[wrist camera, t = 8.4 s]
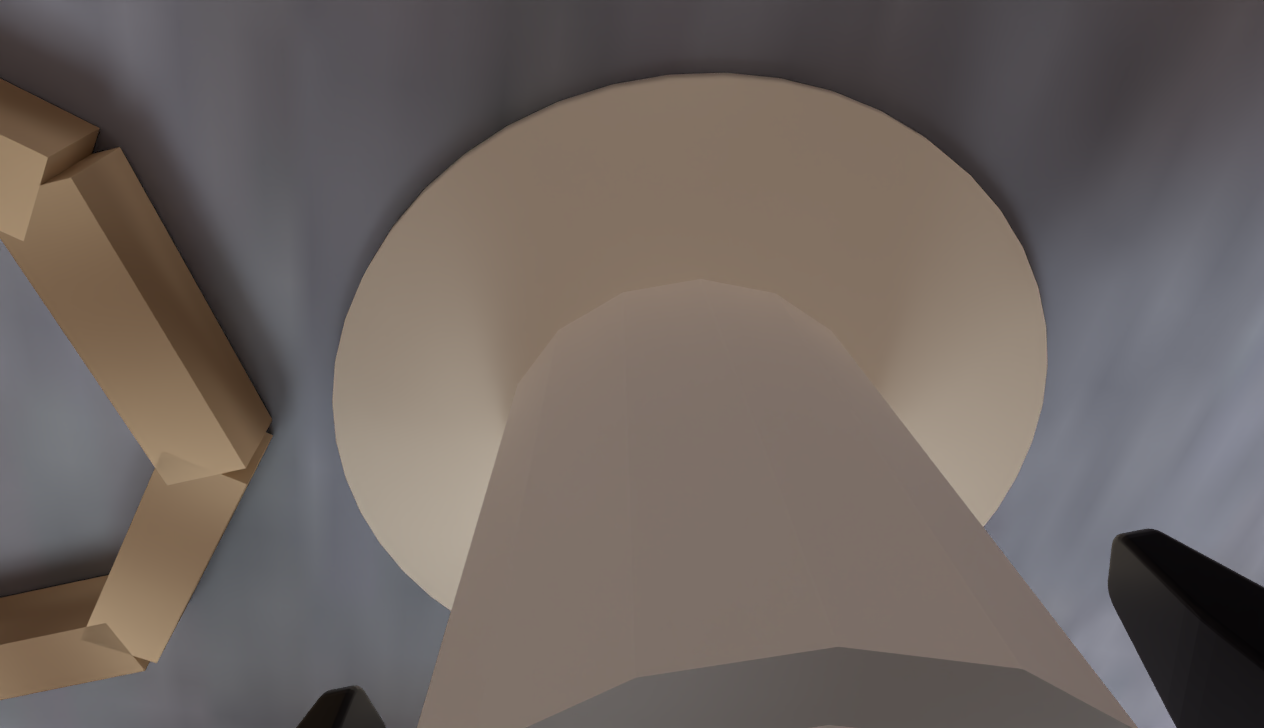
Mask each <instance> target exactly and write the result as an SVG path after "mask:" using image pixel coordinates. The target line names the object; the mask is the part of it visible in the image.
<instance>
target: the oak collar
mask: <svg viewBox="0 0 1264 728" xmlns="http://www.w3.org/2000/svg"><path fill="white" fill-rule="evenodd" d="M99 129H100V128H98V127H96V126H94V125H92V124H90V123H88V122H86V121H84V120H82V119H80V118H78V117H76V116H74V115H72V114H70V113H68V112H66V111H64V110H62V109H60V108H58V107H56V106H54V105H52V104H50V103H48V102H46V101H44V100H42V99H40V98H38V97H36V96H34V95H32V94H30V93H28V92H26V91H24V90H22V89H20V88H18V87H16V86H14V85H12V84H10V83H8V82H6V81H4V80H2V79H0V239H1V240H2V242H3V243H4V245H5V246H6V248H7V249H8V250H9V252H10V253H11V255H12V256H13V258H14V259H15V261H16V262H17V264H18V265H19V267H20V268H21V270H22V271H23V273H24V274H25V276H26V277H27V279H28V280H29V282H30V283H31V285H32V286H33V288H34V289H35V290H36V292H37V293H38V295H39V296H40V298H41V299H42V301H43V302H44V304H45V305H46V307H47V308H48V310H49V311H50V313H51V314H52V316H53V317H54V319H55V320H56V322H57V323H58V325H59V326H60V327H61V329H62V330H63V332H64V333H65V335H66V336H67V338H68V339H69V341H70V342H71V344H72V345H73V347H74V348H75V350H76V351H77V353H78V354H79V356H80V357H81V359H82V360H83V362H84V363H85V364H86V366H87V367H88V369H89V370H90V372H91V373H92V375H93V376H94V378H95V379H96V381H97V382H98V384H99V385H100V387H101V388H102V390H103V391H104V393H105V394H106V396H107V397H108V399H109V400H110V401H111V403H112V404H113V406H114V407H115V409H116V410H117V412H118V413H119V415H120V416H121V418H122V419H123V421H124V422H125V424H126V425H127V427H128V428H129V430H130V431H131V433H132V434H133V436H134V437H135V438H136V440H137V441H138V443H139V444H140V446H141V447H142V449H143V450H144V452H145V453H146V455H147V456H148V458H149V459H150V461H151V462H152V464H153V465H154V467H155V469H154V472H153V474H152V476H151V478H150V481H149V483H148V485H147V488H146V490H145V492H144V495H143V497H142V499H141V502H140V504H139V506H138V509H137V511H136V513H135V516H134V518H133V520H132V522H131V525H130V527H129V529H128V532H127V534H126V536H125V539H124V541H123V543H122V546H121V548H120V550H119V553H118V555H117V557H116V559H115V562H114V564H113V566H112V569H111V571H110V573H109V575H106V576H101V577H97V578H92V579H87V580H82V581H78V582H73V583H68V584H64V585H59V586H54V587H49V588H45V589H40V590H35V591H31V592H26V593H21V594H16V595H12V596H7V597H2V598H0V700H3V699H8V698H13V697H18V696H23V695H28V694H33V693H38V692H42V691H47V690H52V689H57V688H62V687H67V686H72V685H77V684H82V683H87V682H92V681H97V680H102V679H107V678H112V677H116V676H121V675H126V674H131V673H136V672H141V671H145V670H146V668H147V666H148V664H149V662H150V661H151V662H154V663H157V662H158V660H159V658H160V656H161V654H162V652H163V650H164V649H165V647H166V645H167V643H168V641H169V639H170V637H171V635H172V633H173V631H174V630H175V628H176V626H177V624H178V622H179V620H180V618H181V616H182V614H183V612H184V611H185V609H186V607H187V605H188V603H189V601H190V599H191V597H192V595H193V593H194V591H195V589H196V587H197V585H198V583H199V581H200V579H201V577H202V575H203V573H204V571H205V569H206V567H207V565H208V563H209V561H210V559H211V557H212V555H213V553H214V551H215V549H216V547H217V545H218V543H219V541H220V539H221V537H222V536H223V534H224V532H225V530H226V528H227V526H228V524H229V522H230V520H231V518H232V516H233V514H234V512H235V510H236V508H237V506H238V504H239V502H240V500H241V498H242V496H243V494H244V492H245V490H246V488H247V486H248V484H249V482H250V480H251V478H252V476H253V474H254V472H255V470H256V468H257V466H258V464H259V462H260V460H261V458H262V456H263V454H264V452H265V451H266V449H267V447H268V445H269V443H270V441H271V439H272V437H273V435H271V434H269V433H266V431H267V429H268V427H269V425H270V423H271V421H272V418H271V417H270V415H269V413H268V411H267V409H266V408H265V406H264V404H263V402H262V401H261V399H260V397H259V395H258V393H257V392H256V390H255V388H254V386H253V384H252V383H251V381H250V379H249V377H248V375H247V374H246V372H245V370H244V368H243V367H242V365H241V363H240V361H239V359H238V358H237V356H236V354H235V352H234V350H233V349H232V347H231V345H230V343H229V341H228V340H227V338H226V336H225V334H224V333H223V331H222V329H221V327H220V325H219V324H218V322H217V320H216V318H215V316H214V315H213V313H212V311H211V309H210V307H209V306H208V304H207V302H206V300H205V298H204V297H203V295H202V293H201V291H200V290H199V288H198V286H197V284H196V282H195V281H194V279H193V277H192V275H191V273H190V272H189V270H188V268H187V266H186V264H185V263H184V261H183V259H182V257H181V256H180V254H179V252H178V250H177V248H176V247H175V245H174V243H173V241H172V239H171V238H170V236H169V234H168V232H167V230H166V229H165V227H164V225H163V223H162V221H161V220H160V218H159V216H158V214H157V213H156V211H155V209H154V207H153V205H152V204H151V202H150V200H149V198H148V196H147V195H146V193H145V191H144V189H143V187H142V186H141V184H140V182H139V180H138V179H137V177H136V175H135V173H134V171H133V170H132V168H131V166H130V164H129V162H128V161H127V159H126V157H125V155H124V153H123V152H122V150H121V148H120V147H118V148H114V149H110V150H106V151H102V152H98V153H94V154H92V151H93V148H94V145H95V142H96V139H97V135H98V132H99Z"/></svg>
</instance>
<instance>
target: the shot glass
mask: <svg viewBox="0 0 1264 728" xmlns="http://www.w3.org/2000/svg"><path fill="white" fill-rule="evenodd" d="M417 728H1138V727H1137V726H1136V725H1135V723H1134V722H1133V721H1132V719H1131V718H1130V717H1129V716H1128V714H1127V713H1126V712H1125V710H1124V709H1123V708H1122V707H1121V705H1120V704H1119V703H1118V701H1117V700H1116V699H1115V697H1114V696H1113V695H1112V694H1111V692H1110V691H1109V690H1108V688H1107V687H1106V686H1105V684H1104V683H1103V682H1102V681H1101V679H1100V678H1099V677H1098V675H1097V674H1096V673H1095V672H1094V670H1093V669H1092V668H1091V666H1090V665H1089V664H1088V662H1087V661H1086V660H1085V659H1084V657H1083V656H1082V655H1081V653H1080V652H1079V651H1078V650H1077V648H1076V647H1075V646H1074V644H1073V643H1072V642H1071V640H1070V639H1069V638H1068V637H1067V635H1066V634H1065V633H1064V631H1063V630H1062V629H1061V627H1060V626H1059V625H1058V624H1057V622H1056V621H1055V620H1054V618H1053V617H1052V616H1051V615H1050V613H1049V612H1048V611H1047V609H1046V608H1045V607H1044V605H1043V604H1042V603H1041V602H1040V600H1039V599H1038V598H1037V596H1036V595H1035V594H1034V592H1033V591H1032V590H1031V589H1030V587H1029V586H1028V585H1027V583H1026V582H1025V581H1024V580H1023V578H1022V577H1021V576H1020V574H1019V573H1018V572H1017V570H1016V569H1015V568H1014V567H1013V565H1012V564H1011V563H1010V561H1009V560H1008V559H1007V557H1006V556H1005V555H1004V554H1003V552H1002V551H1001V550H1000V548H999V547H998V546H997V545H996V543H995V542H994V541H993V539H992V538H991V537H990V535H989V534H988V533H987V532H986V530H985V529H984V528H983V526H982V525H981V524H980V522H979V521H978V520H977V519H976V517H975V516H974V515H973V513H972V512H971V511H970V510H969V508H968V507H967V506H966V504H965V503H964V502H963V500H962V499H961V498H960V497H959V495H958V494H957V493H956V491H955V490H954V489H953V487H952V486H951V485H950V484H949V482H948V481H947V480H946V478H945V477H944V476H943V475H942V473H941V472H940V471H939V469H938V468H937V467H936V465H935V464H934V463H933V462H932V460H931V459H930V458H929V456H928V455H927V454H926V452H925V451H924V450H923V449H922V447H921V446H920V445H919V443H918V442H917V441H916V440H915V438H914V437H913V436H912V434H911V433H910V432H909V430H908V429H907V428H906V427H905V425H904V424H903V423H902V421H901V420H900V419H899V417H898V416H897V415H896V414H895V412H894V411H893V410H892V408H891V407H890V406H889V405H888V403H887V402H886V401H885V399H884V398H883V397H882V395H881V394H880V393H879V392H878V390H877V389H876V388H875V386H874V385H873V384H872V382H871V381H870V380H869V379H868V377H867V376H866V375H865V373H864V372H863V371H862V370H861V368H860V367H859V366H858V364H857V363H856V362H855V360H854V359H853V358H852V357H851V355H850V354H849V353H848V351H847V350H846V349H845V347H844V346H843V345H842V344H841V342H840V341H839V340H838V338H837V337H836V336H835V335H834V333H833V332H832V331H831V330H829V329H828V328H826V327H825V326H823V325H822V324H820V323H819V322H818V321H816V320H815V319H813V318H812V317H810V316H809V315H807V314H806V313H804V312H803V311H801V310H800V309H798V308H797V307H795V306H794V305H792V304H791V303H789V302H788V301H786V300H785V299H783V298H782V297H780V296H779V295H777V294H776V293H772V292H767V291H761V290H756V289H751V288H746V287H741V286H735V285H730V284H725V283H720V282H715V281H709V280H704V279H697V280H691V281H685V282H680V283H674V284H668V285H662V286H656V287H651V288H645V289H639V290H633V291H627V292H623V293H621V294H619V295H618V296H616V297H614V298H612V299H611V300H609V301H607V302H606V303H604V304H602V305H600V306H599V307H597V308H595V309H594V310H592V311H590V312H589V313H587V314H585V315H583V316H582V317H580V318H578V319H577V320H575V321H573V322H571V323H570V324H568V325H566V326H565V327H563V328H561V329H559V330H558V331H557V333H556V334H555V335H554V337H553V338H552V339H551V341H550V342H549V343H548V344H547V346H546V347H545V348H544V350H543V351H542V352H541V354H540V355H539V356H538V358H537V359H536V360H535V362H534V363H533V364H532V366H531V367H530V368H529V370H528V371H527V372H526V374H525V375H524V376H523V378H522V379H521V380H520V382H519V383H518V385H517V388H516V392H515V395H514V398H513V402H512V405H511V409H510V412H509V416H508V419H507V422H506V426H505V429H504V433H503V436H502V439H501V443H500V446H499V450H498V453H497V456H496V460H495V463H494V467H493V470H492V474H491V477H490V480H489V484H488V487H487V491H486V494H485V497H484V501H483V504H482V508H481V511H480V514H479V518H478V521H477V525H476V528H475V532H474V535H473V538H472V542H471V545H470V549H469V552H468V555H467V559H466V562H465V566H464V569H463V572H462V576H461V579H460V583H459V586H458V590H457V593H456V596H455V600H454V603H453V607H452V610H451V613H450V617H449V620H448V624H447V627H446V630H445V634H444V637H443V641H442V644H441V648H440V651H439V654H438V658H437V661H436V665H435V668H434V671H433V675H432V678H431V682H430V685H429V688H428V692H427V695H426V699H425V702H424V706H423V709H422V712H421V716H420V719H419V723H418V726H417Z"/></svg>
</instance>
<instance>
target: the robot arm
mask: <svg viewBox="0 0 1264 728" xmlns="http://www.w3.org/2000/svg"><path fill="white" fill-rule="evenodd" d="M1108 591H1109V595H1110V598H1111V601H1112V604H1113V606H1114V608H1115V610H1116V612H1117V614H1118V616H1119V618H1120V620H1121V621H1122V623H1123V625H1124V627H1125V629H1126V631H1127V633H1128V635H1129V637H1130V639H1131V641H1132V643H1133V645H1134V647H1135V649H1136V651H1137V653H1138V655H1139V657H1140V658H1141V660H1142V662H1143V664H1144V666H1145V668H1146V670H1147V672H1148V674H1149V676H1150V678H1151V680H1152V682H1153V684H1154V686H1155V688H1156V690H1157V692H1158V693H1159V695H1160V697H1161V699H1162V701H1163V703H1164V705H1165V707H1166V709H1167V711H1168V713H1169V715H1170V716H1171V718H1172V720H1173V722H1174V724H1175V726H1176V727H1177V728H1264V587H1262V586H1261V585H1259V584H1257V583H1255V582H1253V581H1251V580H1249V579H1248V578H1246V577H1244V576H1242V575H1240V574H1238V573H1236V572H1235V571H1233V570H1231V569H1229V568H1227V567H1225V566H1223V565H1222V564H1220V563H1218V562H1216V561H1214V560H1212V559H1211V558H1209V557H1207V556H1205V555H1203V554H1201V553H1199V552H1198V551H1196V550H1194V549H1192V548H1190V547H1188V546H1186V545H1185V544H1183V543H1181V542H1179V541H1177V540H1175V539H1173V538H1172V537H1170V536H1168V535H1166V534H1164V533H1162V532H1160V531H1158V530H1154V529H1142V530H1137V531H1132V532H1127V533H1122V534H1119V535H1117V536H1116V537H1115V538H1114V540H1113V543H1112V549H1111V558H1110V567H1109V576H1108ZM296 728H386V727H385V724H384V722H383V721H382V719H381V717H380V716H379V714H378V713H377V711H376V709H375V708H374V706H373V704H372V703H371V701H370V699H369V698H368V696H367V695H366V693H365V692H364V690H363V689H362V688H360V687H359V686H348V687H343V688H338V689H333V690H329V691H327V692H325V693H324V694H323V695H322V696H321V697H320V698H319V699H318V700H317V702H316V703H315V704H314V705H313V707H312V708H311V709H310V711H309V712H308V713H307V714H306V716H305V717H304V718H303V720H302V721H301V722H300V723H299V725H298V726H297V727H296Z"/></svg>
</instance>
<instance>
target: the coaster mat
mask: <svg viewBox="0 0 1264 728" xmlns="http://www.w3.org/2000/svg"><path fill="white" fill-rule="evenodd" d="M697 279H704V280H709V281H715V282H720V283H725V284H730V285H735V286H741V287H746V288H751V289H756V290H761V291H767V292H772V293H776V294H777V295H779V296H780V297H782V298H783V299H785V300H786V301H788V302H789V303H791V304H792V305H794V306H795V307H797V308H798V309H800V310H801V311H803V312H804V313H806V314H807V315H809V316H810V317H812V318H813V319H815V320H816V321H818V322H819V323H820V324H822V325H823V326H825V327H826V328H828V329H829V330H831V331H832V332H833V333H834V335H835V336H836V337H837V338H838V340H839V341H840V342H841V344H842V345H843V346H844V347H845V349H846V350H847V351H848V353H849V354H850V355H851V357H852V358H853V359H854V360H855V362H856V363H857V364H858V366H859V367H860V368H861V370H862V371H863V372H864V373H865V375H866V376H867V377H868V379H869V380H870V381H871V382H872V384H873V385H874V386H875V388H876V389H877V390H878V392H879V393H880V394H881V395H882V397H883V398H884V399H885V401H886V402H887V403H888V405H889V406H890V407H891V408H892V410H893V411H894V412H895V414H896V415H897V416H898V417H899V419H900V420H901V421H902V423H903V424H904V425H905V427H906V428H907V429H908V430H909V432H910V433H911V434H912V436H913V437H914V438H915V440H916V441H917V442H918V443H919V445H920V446H921V447H922V449H923V450H924V451H925V452H926V454H927V455H928V456H929V458H930V459H931V460H932V462H933V463H934V464H935V465H936V467H937V468H938V469H939V471H940V472H941V473H942V475H943V476H944V477H945V478H946V480H947V481H948V482H949V484H950V485H951V486H952V487H953V489H954V490H955V491H956V493H957V494H958V495H959V497H960V498H961V499H962V500H963V502H964V503H965V504H966V506H967V507H968V508H969V510H970V511H971V512H972V513H973V515H974V516H975V517H976V519H977V520H978V521H979V522H980V524H981V525H982V526H983V527H984V526H985V524H986V523H987V522H988V520H989V519H990V518H991V517H992V515H993V514H994V513H995V511H996V510H997V509H998V507H999V506H1000V504H1001V502H1002V501H1003V499H1004V497H1005V496H1006V494H1007V492H1008V491H1009V489H1010V487H1011V486H1012V484H1013V482H1014V481H1015V479H1016V477H1017V475H1018V473H1019V471H1020V468H1021V466H1022V464H1023V462H1024V459H1025V457H1026V455H1027V452H1028V450H1029V448H1030V446H1031V443H1032V441H1033V437H1034V434H1035V430H1036V427H1037V423H1038V419H1039V416H1040V412H1041V409H1042V405H1043V398H1044V390H1045V382H1046V374H1047V337H1046V323H1045V318H1044V313H1043V308H1042V303H1041V298H1040V293H1039V289H1038V285H1037V283H1036V280H1035V277H1034V275H1033V272H1032V270H1031V267H1030V264H1029V262H1028V259H1027V257H1026V254H1025V252H1024V249H1023V247H1022V245H1021V244H1020V242H1019V240H1018V239H1017V237H1016V235H1015V234H1014V232H1013V230H1012V229H1011V227H1010V225H1009V224H1008V222H1007V220H1006V219H1005V217H1004V215H1003V214H1002V212H1001V210H1000V209H999V208H998V207H997V206H996V204H995V203H994V202H993V201H992V200H991V199H990V197H989V196H988V195H987V194H986V193H985V192H984V190H983V189H982V188H981V187H980V186H979V185H978V183H977V182H976V181H975V180H974V179H973V178H972V176H971V175H969V174H968V173H967V172H966V171H965V170H963V169H962V168H961V167H960V166H959V165H957V164H956V163H955V162H954V161H953V160H952V159H950V158H949V157H948V156H947V155H946V154H944V153H943V152H942V151H941V150H940V149H938V148H937V147H936V146H935V145H934V144H932V143H931V142H930V141H929V140H927V139H926V138H925V137H924V136H922V135H921V134H919V133H917V132H916V131H914V130H912V129H911V128H909V127H907V126H906V125H904V124H902V123H901V122H899V121H897V120H896V119H894V118H892V117H890V116H889V115H887V114H885V113H884V112H882V111H880V110H878V109H876V108H873V107H871V106H868V105H866V104H863V103H861V102H858V101H856V100H853V99H851V98H849V97H846V96H844V95H841V94H839V93H836V92H834V91H831V90H827V89H823V88H819V87H814V86H810V85H806V84H802V83H798V82H794V81H790V80H786V79H782V78H775V77H765V76H755V75H745V74H735V73H698V74H672V75H663V76H657V77H652V78H646V79H640V80H634V81H629V82H623V83H617V84H612V85H609V86H605V87H602V88H599V89H596V90H593V91H590V92H586V93H583V94H580V95H577V96H574V97H571V98H568V99H564V100H561V101H558V102H556V103H554V104H552V105H550V106H548V107H545V108H543V109H541V110H539V111H537V112H535V113H533V114H531V115H529V116H526V117H524V118H522V119H520V120H518V121H516V122H514V123H512V124H510V125H508V126H506V127H505V128H503V129H502V130H500V131H499V132H497V133H495V134H494V135H492V136H491V137H489V138H488V139H486V140H485V141H483V142H482V143H480V144H479V145H477V146H476V147H474V148H473V149H471V150H470V151H468V152H466V153H465V154H463V155H462V156H461V157H460V158H459V159H458V160H457V161H455V162H454V163H453V164H452V165H451V166H450V167H449V168H448V169H446V170H445V171H444V172H443V173H442V174H441V175H440V176H438V177H437V178H436V179H435V180H434V181H433V182H432V183H430V184H429V185H428V186H427V187H426V188H425V189H424V190H423V191H422V192H421V194H420V195H419V196H418V197H417V198H416V199H415V201H414V202H413V203H412V204H411V205H410V207H409V208H408V209H407V210H406V211H405V212H404V214H403V215H402V216H401V217H400V218H399V220H398V221H397V222H396V223H395V224H394V225H393V227H392V229H391V230H390V232H389V233H388V235H387V237H386V238H385V240H384V242H383V243H382V245H381V246H380V248H379V250H378V251H377V253H376V255H375V256H374V258H373V259H372V261H371V263H370V264H369V266H368V268H367V270H366V272H365V274H364V276H363V278H362V280H361V282H360V285H359V287H358V290H357V292H356V294H355V297H354V299H353V302H352V304H351V306H350V309H349V311H348V314H347V316H346V318H345V322H344V326H343V330H342V334H341V339H340V343H339V347H338V351H337V355H336V360H335V371H334V385H333V400H332V403H333V414H334V424H335V435H336V443H337V446H338V450H339V454H340V458H341V462H342V466H343V469H344V473H345V477H346V480H347V482H348V484H349V487H350V489H351V491H352V493H353V496H354V498H355V500H356V503H357V505H358V507H359V510H360V512H361V514H362V515H363V517H364V518H365V520H366V522H367V523H368V525H369V526H370V528H371V530H372V531H373V533H374V534H375V536H376V538H377V539H378V541H379V542H380V544H381V545H382V546H383V547H384V549H385V550H386V551H387V552H388V553H389V555H390V556H391V557H392V558H393V559H394V561H395V562H396V563H397V564H398V565H399V567H400V568H401V569H402V570H403V571H404V572H405V573H406V574H407V575H408V576H409V577H410V578H411V579H412V580H413V581H415V582H416V583H417V584H418V585H419V586H420V587H421V588H422V589H423V590H424V591H425V592H426V593H428V594H429V595H430V596H431V597H432V598H434V599H435V600H436V601H438V602H439V603H441V604H442V605H443V606H445V607H446V608H448V609H449V610H450V611H451V610H452V607H453V603H454V600H455V596H456V593H457V590H458V586H459V583H460V579H461V576H462V572H463V569H464V566H465V562H466V559H467V555H468V552H469V549H470V545H471V542H472V538H473V535H474V532H475V528H476V525H477V521H478V518H479V514H480V511H481V508H482V504H483V501H484V497H485V494H486V491H487V487H488V484H489V480H490V477H491V474H492V470H493V467H494V463H495V460H496V456H497V453H498V450H499V446H500V443H501V439H502V436H503V433H504V429H505V426H506V422H507V419H508V416H509V412H510V409H511V405H512V402H513V398H514V395H515V392H516V388H517V385H518V383H519V382H520V380H521V379H522V378H523V376H524V375H525V374H526V372H527V371H528V370H529V368H530V367H531V366H532V364H533V363H534V362H535V360H536V359H537V358H538V356H539V355H540V354H541V352H542V351H543V350H544V348H545V347H546V346H547V344H548V343H549V342H550V341H551V339H552V338H553V337H554V335H555V334H556V333H557V331H558V330H559V329H561V328H563V327H565V326H566V325H568V324H570V323H571V322H573V321H575V320H577V319H578V318H580V317H582V316H583V315H585V314H587V313H589V312H590V311H592V310H594V309H595V308H597V307H599V306H600V305H602V304H604V303H606V302H607V301H609V300H611V299H612V298H614V297H616V296H618V295H619V294H621V293H623V292H627V291H633V290H639V289H645V288H651V287H656V286H662V285H668V284H674V283H680V282H685V281H691V280H697Z"/></svg>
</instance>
